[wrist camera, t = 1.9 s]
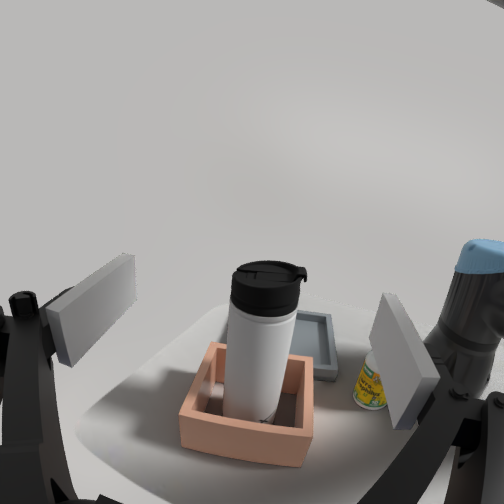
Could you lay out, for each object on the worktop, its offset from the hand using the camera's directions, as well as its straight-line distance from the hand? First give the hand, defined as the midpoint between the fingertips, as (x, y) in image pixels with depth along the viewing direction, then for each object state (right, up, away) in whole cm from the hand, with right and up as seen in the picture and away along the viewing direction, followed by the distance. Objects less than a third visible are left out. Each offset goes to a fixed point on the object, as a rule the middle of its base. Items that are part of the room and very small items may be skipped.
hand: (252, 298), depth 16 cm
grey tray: (+5, -13, +34) cm, 37 cm away
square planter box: (0, -18, +19) cm, 26 cm away
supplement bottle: (+16, -18, +23) cm, 33 cm away
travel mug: (0, -18, +19) cm, 26 cm away
